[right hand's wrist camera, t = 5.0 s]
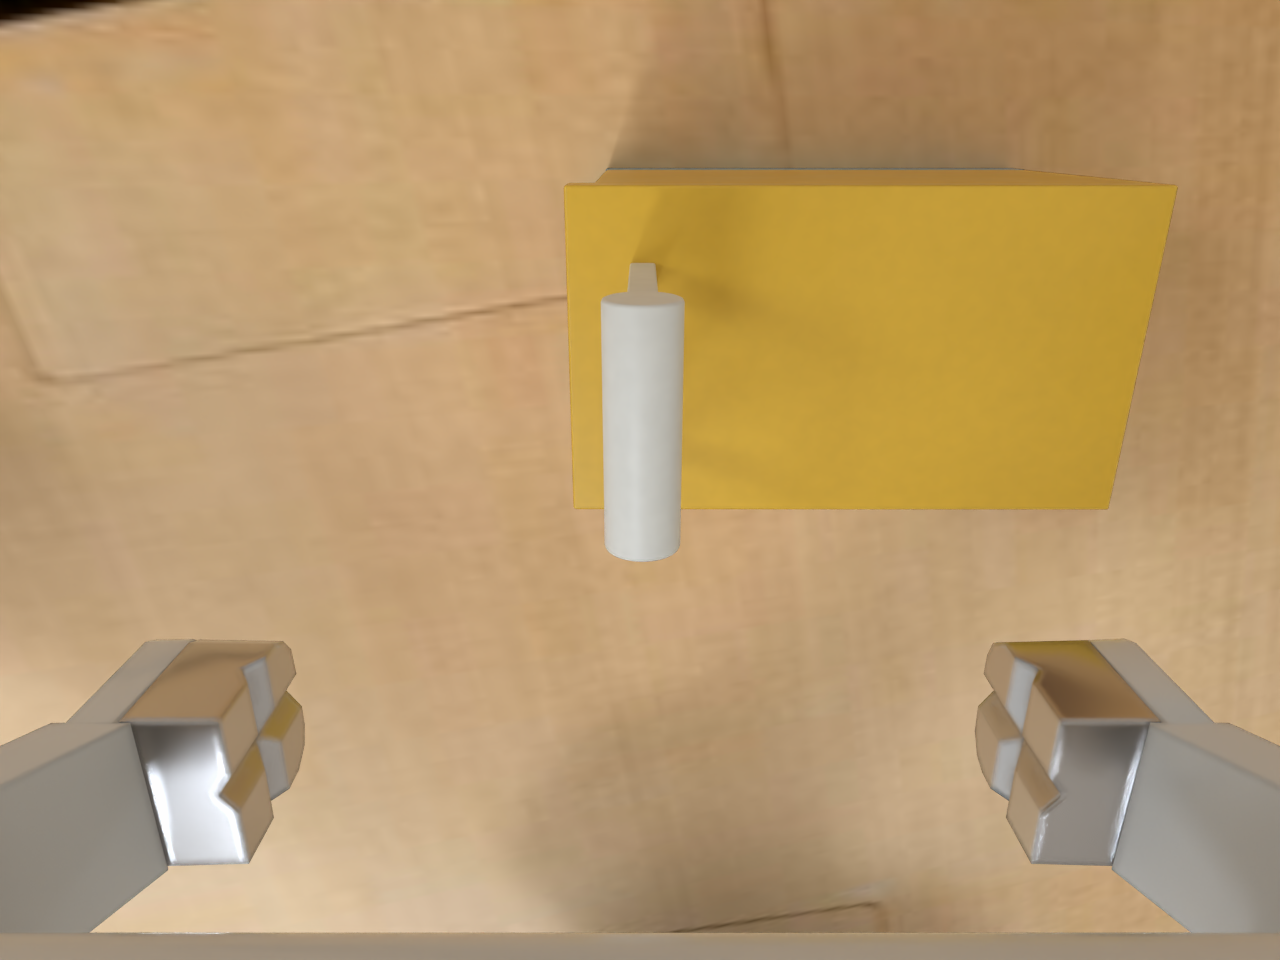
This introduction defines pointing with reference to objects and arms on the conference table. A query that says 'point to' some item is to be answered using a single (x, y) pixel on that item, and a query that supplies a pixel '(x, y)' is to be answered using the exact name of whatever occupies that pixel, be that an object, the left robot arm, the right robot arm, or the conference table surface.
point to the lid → (852, 345)
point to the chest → (842, 175)
